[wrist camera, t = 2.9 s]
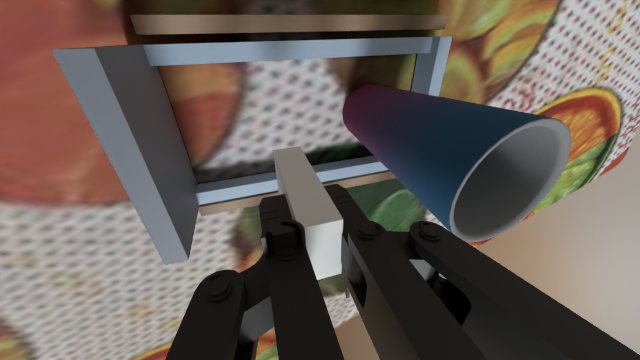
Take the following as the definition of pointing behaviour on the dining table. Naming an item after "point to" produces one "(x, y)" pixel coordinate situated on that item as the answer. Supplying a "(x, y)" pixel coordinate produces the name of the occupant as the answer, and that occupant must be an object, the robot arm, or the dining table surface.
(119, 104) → the frame
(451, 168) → the cup
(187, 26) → the lane guides
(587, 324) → the robot arm
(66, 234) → the dining table surface
